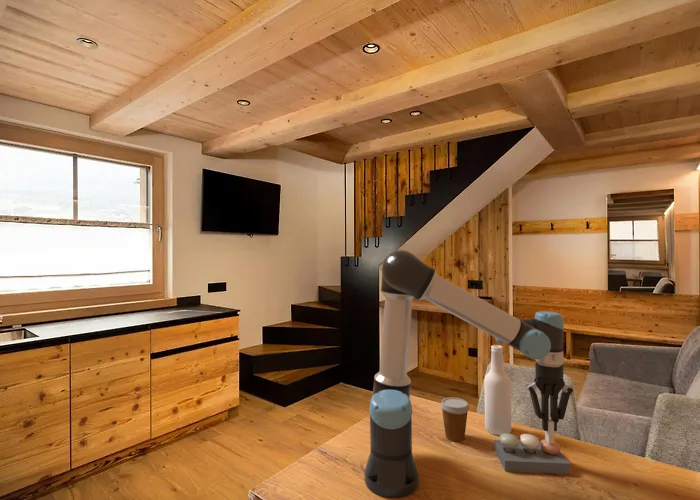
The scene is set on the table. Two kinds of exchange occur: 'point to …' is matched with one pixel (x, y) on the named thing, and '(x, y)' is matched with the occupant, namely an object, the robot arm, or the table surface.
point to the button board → (531, 460)
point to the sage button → (509, 442)
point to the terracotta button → (550, 447)
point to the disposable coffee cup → (454, 418)
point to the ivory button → (529, 442)
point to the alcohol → (497, 395)
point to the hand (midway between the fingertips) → (549, 441)
